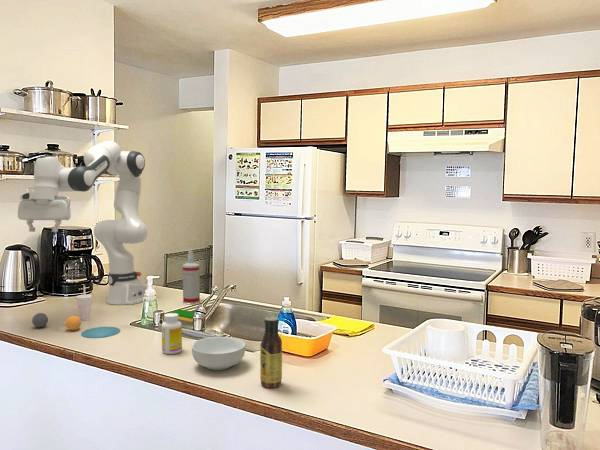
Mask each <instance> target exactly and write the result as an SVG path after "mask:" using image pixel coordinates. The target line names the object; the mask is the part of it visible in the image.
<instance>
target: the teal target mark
mask: <svg viewBox="0 0 600 450" xmlns="http://www.w3.org/2000/svg"><path fill="white" fill-rule="evenodd" d="M120 332H121V328H118V327H116V326H97V327H91V328H88V329H85V330H83V331H82V332H80V336H82V337H83V338H88V339H102V338H103V339H104V338H109V337H112V336H115V335H117V334H119V333H120Z"/></svg>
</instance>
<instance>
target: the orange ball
mask: <svg viewBox="0 0 600 450" xmlns="http://www.w3.org/2000/svg"><path fill="white" fill-rule="evenodd" d="M64 324H65V327H66V328H67V329H68V330H70V331H76V330H78V329H79V328H80V327H81V325H82V320H80V317H79V316H76V315H71V316H68V318H67V319H66V320H65V323H64Z"/></svg>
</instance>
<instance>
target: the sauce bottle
mask: <svg viewBox="0 0 600 450" xmlns="http://www.w3.org/2000/svg"><path fill="white" fill-rule="evenodd" d="M279 319H280V318H279V317H277V316H272V315H271V316H266V317H265V318H264V328H265V329H264V334H263V337H262V340H261V342H260V353H259V354H260V355H259V356H260V357H259V359H260V366H259V367H260V369H259V370H260V371H259V372H260V377H259V378H260V384H261V386H263V387H264V388H269V389H271V388H272V389H274V388H277V387H280V386H281V384H282V379H283V349H282V348H283V345H282V344H283V342H282V338H281V336H280V335H279V323H280V320H279Z"/></svg>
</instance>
